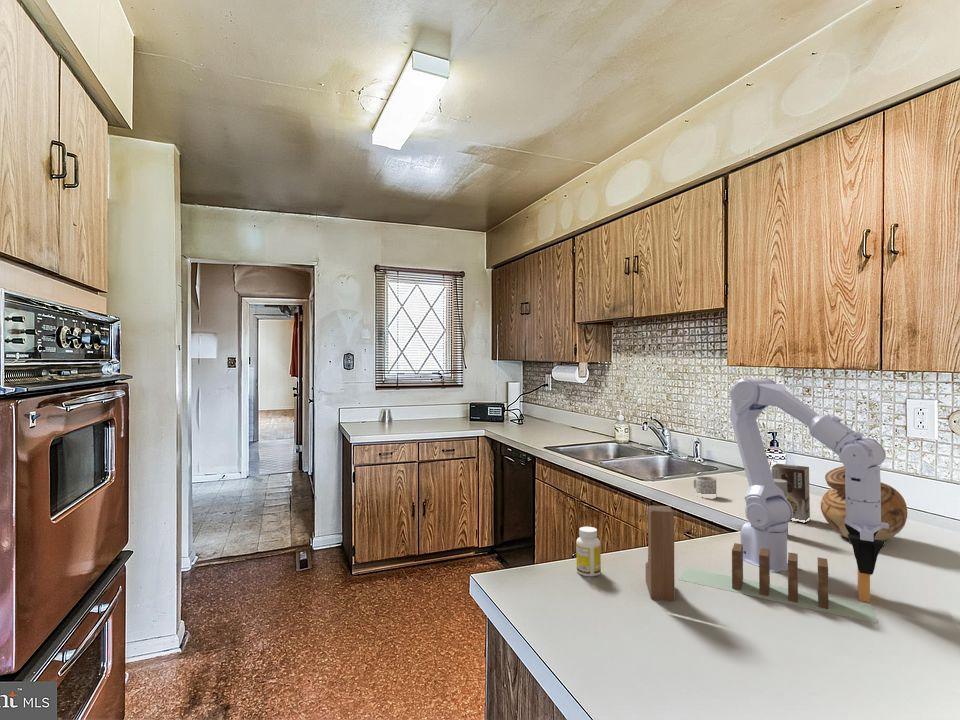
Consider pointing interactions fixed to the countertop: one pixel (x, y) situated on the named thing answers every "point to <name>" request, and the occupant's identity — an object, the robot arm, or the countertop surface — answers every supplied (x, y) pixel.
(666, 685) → the countertop surface
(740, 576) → the domino
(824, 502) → the clay pot
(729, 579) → the mat
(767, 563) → the domino
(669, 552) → the wooden block
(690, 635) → the countertop surface
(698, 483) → the mug
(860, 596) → the orange domino
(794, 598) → the domino
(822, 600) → the domino
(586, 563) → the supplement bottle
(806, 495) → the coffee box
